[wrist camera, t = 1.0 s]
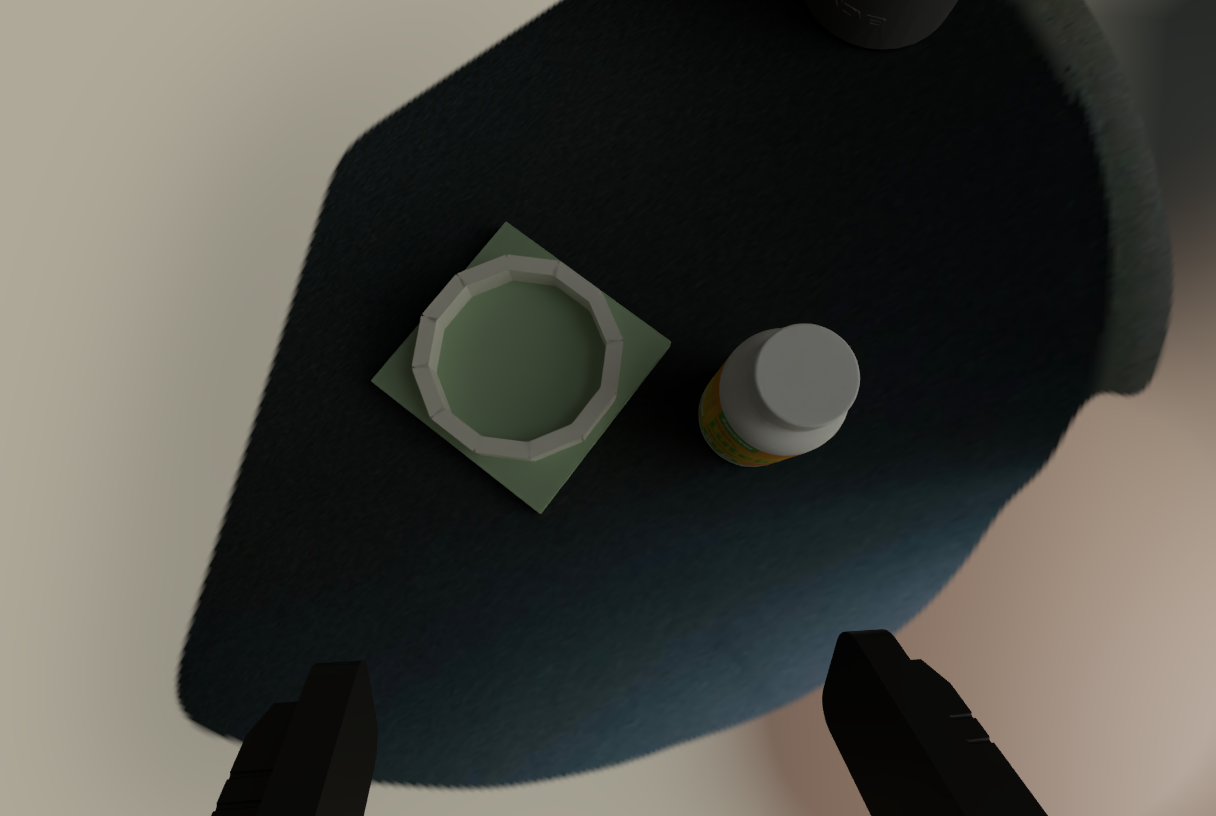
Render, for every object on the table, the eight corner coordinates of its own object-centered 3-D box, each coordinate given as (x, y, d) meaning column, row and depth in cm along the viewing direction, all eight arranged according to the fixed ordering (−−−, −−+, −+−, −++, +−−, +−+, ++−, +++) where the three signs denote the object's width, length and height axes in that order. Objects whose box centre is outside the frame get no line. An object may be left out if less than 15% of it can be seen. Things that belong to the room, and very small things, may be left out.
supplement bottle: (680, 440, 32) (711, 408, 23) (721, 349, 33) (767, 282, 24) (776, 485, 32) (848, 471, 22) (815, 392, 33) (900, 340, 23)
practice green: (509, 229, 34) (501, 207, 32) (669, 347, 33) (674, 333, 31) (377, 385, 33) (359, 374, 30) (541, 513, 32) (535, 513, 29)
